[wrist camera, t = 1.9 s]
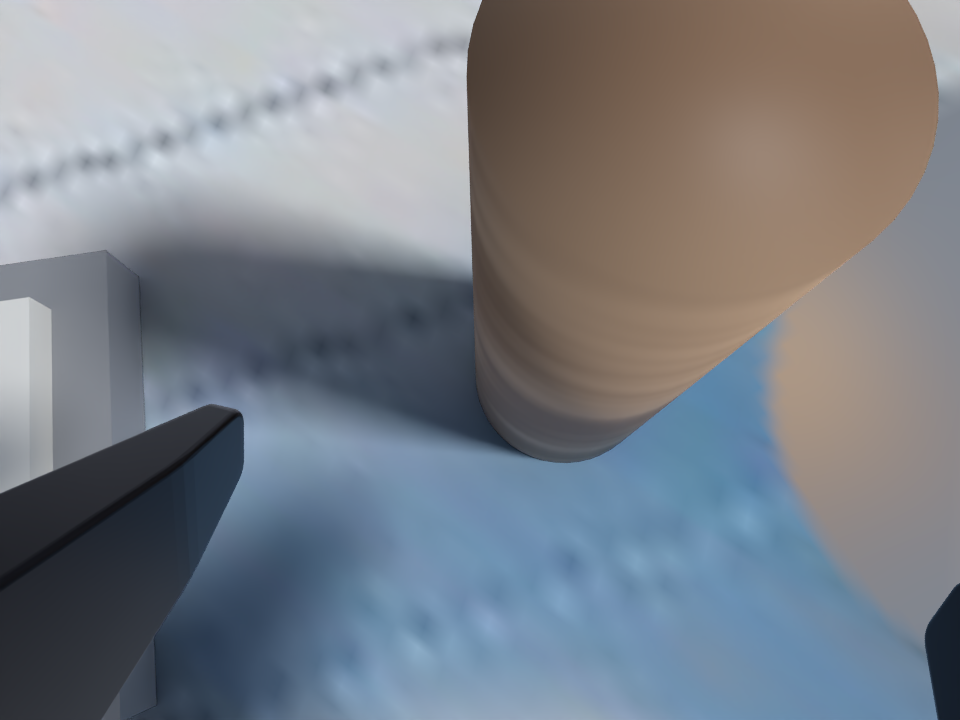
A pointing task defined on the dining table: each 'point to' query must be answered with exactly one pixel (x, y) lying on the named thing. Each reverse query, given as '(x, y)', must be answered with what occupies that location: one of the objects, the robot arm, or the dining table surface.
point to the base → (72, 384)
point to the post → (670, 189)
